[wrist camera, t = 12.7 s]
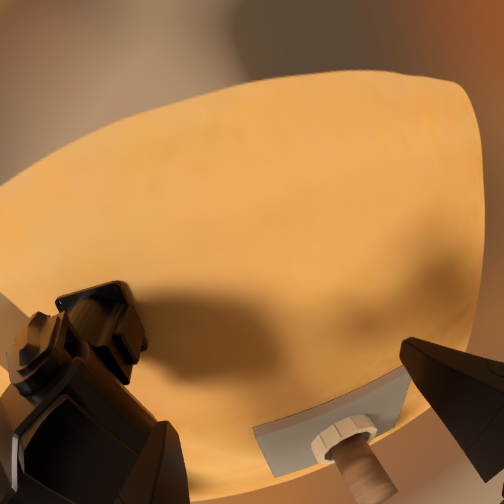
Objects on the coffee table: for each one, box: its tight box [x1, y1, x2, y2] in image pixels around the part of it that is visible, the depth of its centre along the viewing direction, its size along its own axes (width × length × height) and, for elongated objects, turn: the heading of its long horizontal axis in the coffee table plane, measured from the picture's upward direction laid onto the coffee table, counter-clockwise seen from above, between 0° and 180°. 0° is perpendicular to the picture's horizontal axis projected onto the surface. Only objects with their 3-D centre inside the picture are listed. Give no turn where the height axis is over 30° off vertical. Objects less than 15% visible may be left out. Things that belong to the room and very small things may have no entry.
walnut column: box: [329, 433, 398, 504], centre depth 24 cm, size 5×5×13 cm
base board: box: [253, 365, 411, 478], centre depth 30 cm, size 22×16×4 cm
